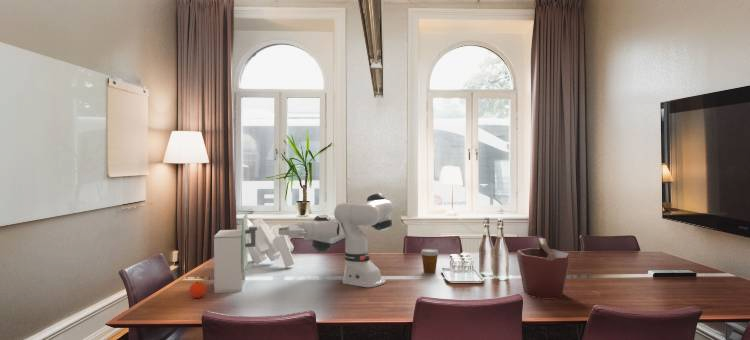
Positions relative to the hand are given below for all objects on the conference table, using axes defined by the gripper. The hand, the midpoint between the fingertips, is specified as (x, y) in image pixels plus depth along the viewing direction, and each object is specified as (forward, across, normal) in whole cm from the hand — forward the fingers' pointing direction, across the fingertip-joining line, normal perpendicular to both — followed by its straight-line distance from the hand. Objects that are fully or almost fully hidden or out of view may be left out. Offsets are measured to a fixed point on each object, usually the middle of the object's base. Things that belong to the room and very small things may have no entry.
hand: (278, 231), depth 213 cm
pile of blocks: (+10, +41, -26) cm, 50 cm away
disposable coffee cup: (-80, +7, -26) cm, 84 cm away
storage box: (+23, 0, -26) cm, 35 cm away
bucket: (-118, -39, -26) cm, 127 cm away
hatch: (+13, 0, -17) cm, 22 cm away
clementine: (+34, -14, -26) cm, 45 cm away
